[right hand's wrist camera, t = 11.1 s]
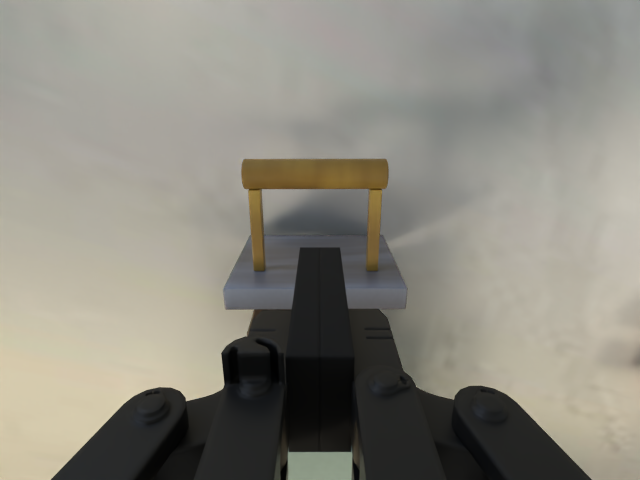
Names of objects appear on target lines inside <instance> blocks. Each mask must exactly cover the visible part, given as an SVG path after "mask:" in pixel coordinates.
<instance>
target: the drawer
mask: <svg viewBox="0 0 640 480" xmlns="http://www.w3.org/2000/svg"><path fill="white" fill-rule="evenodd" d="M388 173H389V171H388V162H387V159H244V160H243V162H242V169H241V175H242V184H243V187H244V189H249V191H248V194H249V209H250V224H251V235H250V237H249V239H248V241H247V243H246V245H245V247H244V249H243V251H242V253H241V255H240V256H239V258H238V260H237V262H236V264H235V266H234V268H233V270H232V272H231V274H230V276H229V278H228V280H227V282H226V284H225V286H224V288H223V293H224V303H225V309H254V313H253V316H252V319H251V322H250V326H249V329H248V332H247V336H248V334H249V332H250V327H251V324H252V320H253V318H254V317H255V316H257V315H258V314H259V313H260V312H261V311H262V310H292V304H293V296H294V289H295V281H296V274H297V266H298V258H299V251H300V247H340V251H341V258H342V266H343V274H344V281H345V289H346V296H347V304H348V309H406V300H407V287H406V284H405V282H404V280H403V278H402V276H401V273H400V271H399V269H398V267H397V265H396V263H395V260H394V258H393V256H392V254H391V252H390V250H389V247H388V245H387V243H386V241H385V239H384V236H383V235H380V220H381V202H382V189H385V188H386V187H387V184H388ZM262 189H369V199H368V223H367V235H264V224H263V206H262Z"/></svg>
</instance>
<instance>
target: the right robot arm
mask: <svg viewBox="0 0 640 480" xmlns="http://www.w3.org/2000/svg"><path fill="white" fill-rule="evenodd" d="M221 354H222V363H223V373H224V383H225V385H224V389H222V390H221V391H219V392H217V393H215V394H213V395H209V396H206V397H203V398H199V399H194V400H190V401H186V399H185V397H184V396H183V394H182V393H181V392H180V391H178V390H175V389H173V388H161V387H159V388H155V389H150V390H146V391H144V392H142V393H140V394H138V395H135V396H134V397H132V398H131V399H130V400H129V401H127V402H126V403H125V404H124V405H123V406H122V407H121V408H120V409H119V410H118V411H117V412H116V413H115V414H114V415H113V416H112V417H111V418H110V419H109V420H108V421H107V422H106V423H105V424H104V425H103V426H102V427H101V428H100V429H99V430H98V431H97V433H96V434H95V435H94V436H93V437H92V438H91V439H90V440H89V441H88V442H87V443H86V444H85V445H84V446H83V447H82V448H81V449H80V450H79V451H78V452H77V453H76V454H75V455H74V456H73V457H72V458H71V459H70V460H69V462H68V463H67V464H66V465H65V466H64V467H63V468H62V469H61V470H60V471H59V472H58V473H57V474H56V475H55V476H54V477H53V478H52V479H51V480H288V448H289V452H351V446H352V478H351V480H591V479H590V478H589V477H588V476H587V474H586V473H585V472H584V471H583V470H582V469H581V468H580V467H579V466H578V465H577V464H576V463H575V462H574V461H573V460H572V459H571V458H570V457H569V456H568V455H567V454H566V453H565V452H564V451H563V450H562V449H561V448H560V447H559V446H558V445H557V444H556V443H555V442H554V441H553V440H552V438H551V437H550V436H549V435H548V434H547V433H546V432H545V431H544V430H543V429H542V428H541V427H540V426H539V425H538V424H537V423H536V422H535V421H534V420H533V419H532V418H531V417H530V416H529V415H528V414H527V413H526V412H525V411H524V410H523V409H522V408H521V407H520V406H519V405H518V404H517V403H516V402H515V401H514V400H513V399H511V398H510V397H509V396H508V395H506V394H504V393H502V392H500V391H498V390H496V389H493V388H489V387H484V386H468V387H466V388H463V389H461V390H460V391H459V392H458V393H457V394H456V395H455V399H454V400H452V399H448V398H444V397H440V396H436V395H432V394H429V393H426V392H424V391H422V390H420V389H418V388H417V387H416V385H415V383H414V381H413V380H412V378H411V377H410V376H409V375H408V374H406V373H405V372H404V371H403V368H402V365H401V362H400V358H399V355H398V352H397V348H396V345H395V342H394V339H393V335H392V332H391V330H390V325H389V322H388V319H387V317H386V316H385V315H384V314H383V313H382V312H381V311H380V310H378V309H348V304H347V296H346V289H345V281H344V274H343V266H342V258H341V251H340V247H300V251H299V258H298V266H297V274H296V281H295V289H294V296H293V304H292V310H262V311H261V312H260V313H259V314H258V315H257V316H255V317H254V318H253V320H252V324H251V327H250V332H249V334H248V336H247V337H243V338H240V339H237V340H235V341H233V342H232V343H230V344H229V345H227V346H226V347H225V349H224V350H223V352H222V353H221Z"/></svg>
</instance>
